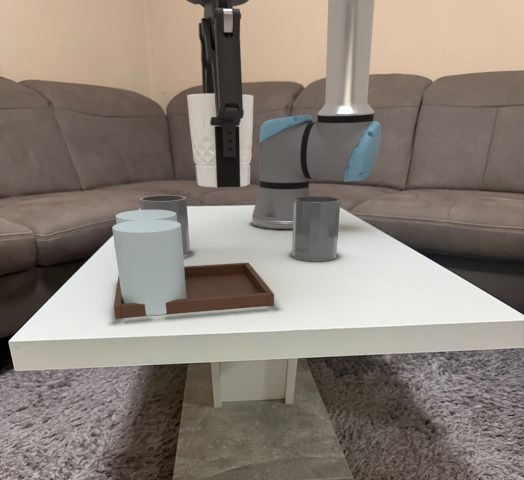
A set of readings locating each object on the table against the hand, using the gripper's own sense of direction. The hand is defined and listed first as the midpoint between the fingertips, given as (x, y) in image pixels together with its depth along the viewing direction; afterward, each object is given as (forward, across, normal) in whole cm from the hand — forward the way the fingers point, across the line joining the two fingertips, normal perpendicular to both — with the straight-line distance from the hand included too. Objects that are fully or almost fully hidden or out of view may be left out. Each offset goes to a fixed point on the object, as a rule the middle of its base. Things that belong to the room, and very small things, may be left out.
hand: (223, 183), depth 58 cm
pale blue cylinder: (+14, +4, -10) cm, 18 cm away
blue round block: (+14, -4, -10) cm, 18 cm away
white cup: (0, 0, 0) cm, 0 cm away
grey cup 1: (+15, -24, -7) cm, 29 cm away
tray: (+15, 0, -5) cm, 16 cm away
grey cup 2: (+15, -17, +19) cm, 29 cm away
